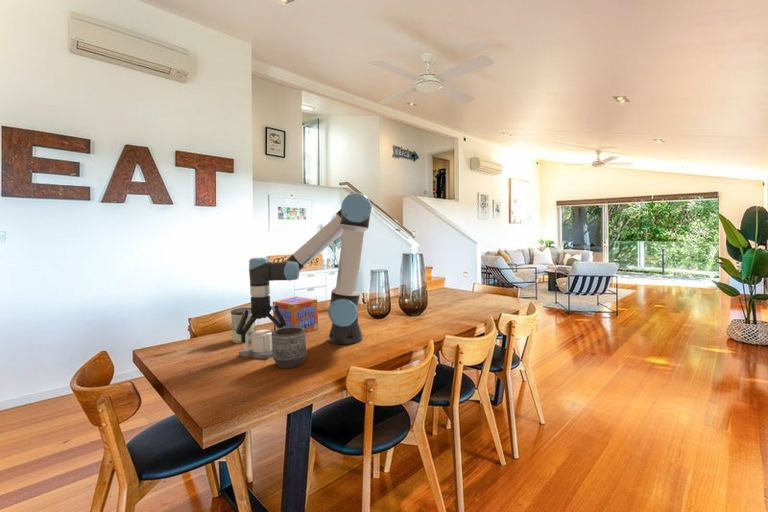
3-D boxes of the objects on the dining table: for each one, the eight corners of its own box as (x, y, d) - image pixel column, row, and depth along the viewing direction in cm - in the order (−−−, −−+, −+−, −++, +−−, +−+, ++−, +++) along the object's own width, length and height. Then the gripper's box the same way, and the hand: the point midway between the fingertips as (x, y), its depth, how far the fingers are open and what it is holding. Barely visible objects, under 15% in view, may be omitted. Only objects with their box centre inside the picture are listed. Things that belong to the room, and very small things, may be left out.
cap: (277, 347, 155) (277, 330, 154) (264, 353, 147) (263, 336, 146) (261, 345, 158) (260, 329, 157) (247, 351, 150) (246, 334, 149)
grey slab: (286, 349, 156) (285, 334, 155) (267, 359, 144) (266, 342, 144) (258, 346, 161) (258, 332, 160) (239, 355, 149) (238, 340, 149)
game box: (297, 325, 196) (296, 296, 195) (318, 329, 187) (317, 298, 186) (273, 332, 183) (272, 301, 182) (295, 337, 175) (293, 304, 173)
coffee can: (239, 336, 178) (237, 307, 177) (259, 336, 177) (258, 307, 176) (227, 343, 167) (226, 312, 166) (249, 343, 166) (248, 312, 165)
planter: (289, 372, 130) (287, 337, 129) (265, 366, 136) (264, 332, 135) (313, 361, 140) (312, 328, 139) (290, 356, 147) (289, 325, 146)
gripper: (284, 290, 162) (286, 338, 163) (225, 298, 146) (228, 351, 147) (292, 292, 156) (294, 342, 157) (231, 301, 140) (234, 356, 141)
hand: (262, 346), depth 152 cm, fingers open, 13 cm apart
